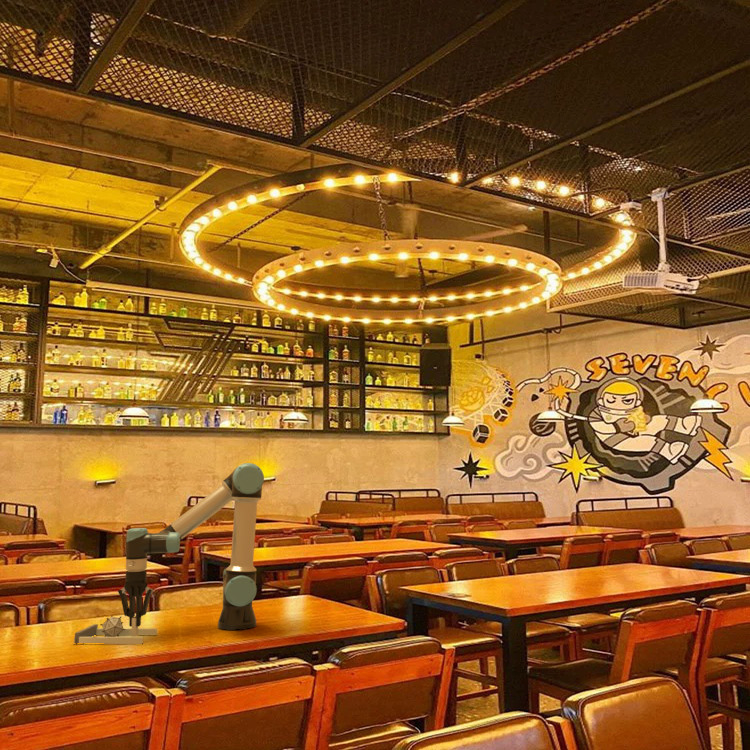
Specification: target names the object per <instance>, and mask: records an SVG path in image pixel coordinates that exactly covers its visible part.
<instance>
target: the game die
mask: <svg viewBox="0 0 750 750" xmlns="http://www.w3.org/2000/svg"><path fill="white" fill-rule="evenodd" d="M123 623H124V622H123V621H122V616H119V617H116V616H113V614H111V615H110V617H106V621H104V622H103V623H100V624H99V625H100V626H102V628H103V630H104V631H102V632H104V634H105V636H103V637H118V636H119V635H118V634H119V633H120V632H122V631H123V630H125V629H123V628H124V625H123ZM119 637H120V636H119Z"/></svg>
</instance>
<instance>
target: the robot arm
mask: <svg viewBox="0 0 750 750" xmlns="http://www.w3.org/2000/svg"><path fill="white" fill-rule="evenodd" d="M264 482H265V475H264V473H263V471H262V469H261V468H260V466H258V465H257V464H255V463H251V462H248V463H247V462H246V463H245V462H243V463H242V464H240V465H238V466H236V468H235V469H234V470H232V472H231V473H230V474H229V475H228V476H227V477H226V478H225V479H223V480H222V481H221V485H219V486H218V487H217V488H215V489H214V490H212V492H210V493H209V494H208V495H206V496H204V498H203V499H201V500H200V501H199V502H198V503H196V504H195V505H194V506H192V507H191V508H190V509H188V510H187V511H185V513H183V514H182V515H181V516H179V517H178V518H177V519H175V520H174V521H172V522H171V523H170V524H169V525H167V526H166V527H165V528H163V529H162V530H160V531H159V532H153V533H152V532H148V528H146V527H135V528H134V527H133V528H130V529H129V528H128V530H127V531H126V539H125V540H126V543H125V545H126V546H125V570H126V571H125V579H124V581H125V584H124V585H123V588H121V589H118V591H117V593H118V594H119V596H120V599H121V600H120V601H121V605H122V610H123V615H124V616H125V617H128V618H129V621H128V625H129V627H130V628H132V634H131V636H130V637H138V636H137V635H138V628H139V627H140V626H141V623H142V616H145V615H146V614H147V611H148V607H149V603H150V599H151V596H152V594H153V592H154V589H153V588H151V587H149V585H148V582H147V576H148V575H147V573H148V571H147V570H146V569H147V568H148V567H147V566H148V565H147V564H148V562H147V561H148V554H171V553H178V552H179V551H180V547H181V546H180V544H181V542H180V541H181V540H183V539H184V538H186V537H187V536H189V534H190V533H192V532H193V531H195V530H196V529H197V528H198V527H200V525H202V524H203V523H205V522H206V521H208V520H209V519H210V518H212V517H213V516H214V515H215V514H216V513H218V512H219V511H220V510H222V509H223V508H224V507H225V506H227V505H228V504H229V503H230V502H232V501H234V511H233V522H232V523H233V527H232V537H231V538H232V541H231V553H230V565H229V566H228V567H226V568H224V570H223V574H222V578H223V579H222V580H223V581H222V583H223V584H222V607H221V612H220V615H219V618H218V621H217V628H218V629H219V628H220V630H223V629H226V631H237V630H236V629H244V630H248V629H247V628H250V629H253V628H252V627H254V628H255V626H257V619H256V615H255V611H254V607H253V601H254V599H255V597H256V595H257V589H258V588H257V585H256V584H257V568H256V567H255V566H254V555H255V554H254V553H255V552H254V551H255V539H256V525H257V509H258V502H259V501H260V500H261V499H262V495H263V494H262V493H263V485H264ZM126 593H127V594H128V596H127V594H126ZM144 593H145V596H144V599H143V600H142V598H143V594H144ZM128 601H129V602H128Z"/></svg>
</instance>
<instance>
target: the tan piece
mask: <svg viewBox="0 0 750 750" xmlns="http://www.w3.org/2000/svg"><path fill="white" fill-rule="evenodd" d="M98 627H99V625H98V624H97V623H95V624H92V625H89V626H88V627H85V628H83V629H81V630H79V631H76V632H75V633H74V637H73V644H74V643H104V644H142V643H143V644H144V636H119V637H118V636H115V637H107V636H106V637H104V636H94V635H105V634H104V632H102V631H104V630H103V627H102V628H98ZM123 629H125V630H123V631H122V632H120V633H119V634H118V635H131V634H132V627H130V628H127V627H126V628H124V627H123ZM138 635H157V636H158V628H156V627H155V628H154V627H153V628H152V627H151V628H146V627H145V628H143V627H142V628H141V627H138ZM92 636H93V637H92ZM143 644H142V645H143Z"/></svg>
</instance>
